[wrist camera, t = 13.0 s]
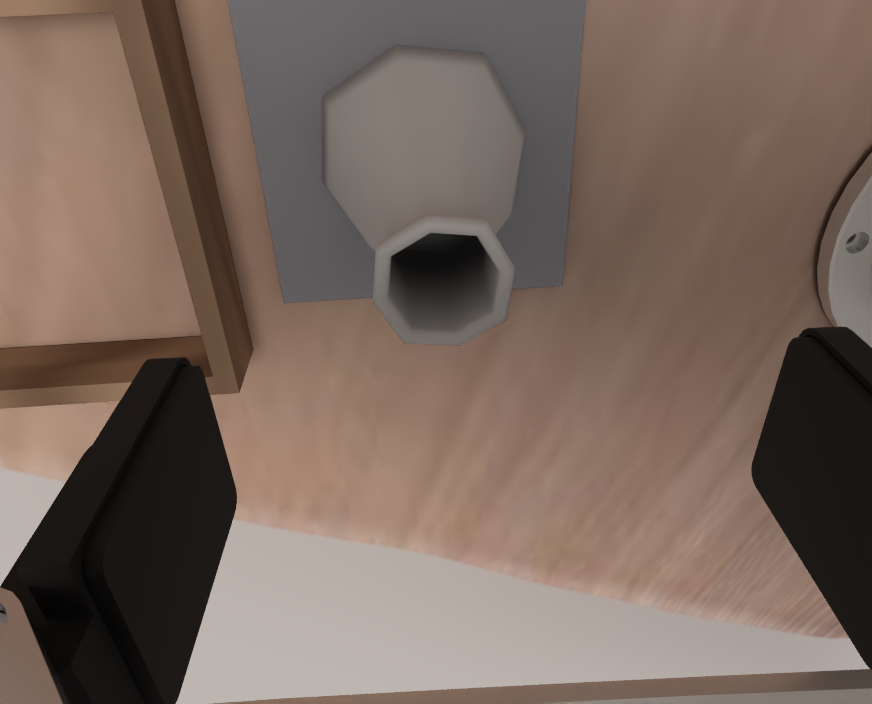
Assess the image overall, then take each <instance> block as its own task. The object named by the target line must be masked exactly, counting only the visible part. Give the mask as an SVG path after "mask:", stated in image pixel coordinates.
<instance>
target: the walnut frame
mask: <svg viewBox="0 0 872 704" xmlns="http://www.w3.org/2000/svg"><path fill="white" fill-rule="evenodd" d="M95 12H114V16H115V20H116V23H117V27H118V31H119V34H120V38H121V42H122V45H123V49H124V53H125V56H126V60H127V64H128V67H129V71H130V75H131V78H132V82H133V86H134V89H135V93H136V97H137V100H138V104H139V108H140V111H141V115H142V118H143V122H144V126H145V129H146V133H147V137H148V140H149V144H150V148H151V151H152V155H153V159H154V162H155V166H156V170H157V173H158V177H159V181H160V184H161V188H162V192H163V195H164V199H165V203H166V206H167V210H168V214H169V217H170V221H171V225H172V228H173V232H174V236H175V239H176V243H177V247H178V250H179V254H180V258H181V261H182V265H183V269H184V272H185V276H186V279H187V283H188V287H189V290H190V294H191V298H192V301H193V305H194V309H195V312H196V316H197V320H198V323H199V327H200V331H201V334H202V336H197V337H181V338H165V339H149V340H133V341H117V342H101V343H85V344H69V345H53V346H37V347H21V348H5V349H0V409H1V408H16V407H32V406H47V405H62V404H77V403H92V402H108V401H120V400H121V399H122V397H123V396H124V394H125V392H126V391H127V389H128V388H129V386H130V384H131V383H132V381H133V379H134V378H135V376H136V375H137V373H138V371H139V370H140V368H141V367H142V365H143V363H144V362H145V361H146V360H147V359H154V358H176V357H185V358H187V359H188V360H189V362H190V363H191V366H200V367H201V369H202V370H203V373H204V376H205V380H206V383H207V387H208V390H209V394H210V395H214V394H229V393H239V392H240V389H241V386H242V383H243V380H244V377H245V373H246V370H247V367H248V364H249V361H250V358H251V354H252V351H253V347H252V343H251V338H250V334H249V330H248V325H247V321H246V316H245V312H244V307H243V303H242V299H241V294H240V290H239V285H238V281H237V276H236V272H235V268H234V263H233V259H232V254H231V250H230V245H229V241H228V237H227V232H226V228H225V223H224V219H223V214H222V210H221V205H220V201H219V197H218V192H217V188H216V183H215V179H214V174H213V170H212V166H211V161H210V157H209V152H208V148H207V143H206V139H205V135H204V130H203V126H202V121H201V117H200V112H199V108H198V104H197V99H196V95H195V90H194V86H193V81H192V77H191V73H190V68H189V64H188V59H187V55H186V50H185V46H184V42H183V37H182V33H181V28H180V24H179V19H178V15H177V11H176V6H175V2H174V0H0V17H8V16H30V15H52V14H74V13H95Z"/></svg>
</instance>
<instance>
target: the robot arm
mask: <svg viewBox="0 0 872 704" xmlns="http://www.w3.org/2000/svg"><path fill="white" fill-rule="evenodd" d="M817 277H818V293H819V296H820V299H821V303H822V306H823V309H824V312H825V314H826V316H827V317H828V319H829V320H830V322H831V323H832V325H833V326H834V327H823V328H808V329H805V330H803V332H802V333H801V334H800V335H799V337H798V338H794V339H792V340H791V341H790V343H789V345H788V347H787V351H786V354H785V357H784V361H783V364H782V367H781V370H780V374H779V377H778V380H777V383H776V387H775V390H774V393H773V396H772V400H771V403H770V406H769V410H768V413H767V416H766V419H765V423H764V426H763V429H762V432H761V436H760V439H759V442H758V446H757V449H756V452H755V455H754V459H753V462H752V478H753V481H754V484H755V486H756V488H757V490H758V491H759V493H760V494H761V496H762V498H763V499H764V501H765V502H766V504H767V506H768V507H769V509H770V511H771V512H772V514H773V515H774V517H775V519H776V520H777V522H778V523H779V525H780V527H781V528H782V530H783V531H784V533H785V535H786V536H787V538H788V540H789V541H790V543H791V544H792V546H793V548H794V549H795V551H796V552H797V554H798V556H799V557H800V559H801V561H802V562H803V564H804V565H805V567H806V569H807V570H808V572H809V573H810V575H811V577H812V578H813V580H814V581H815V583H816V585H817V586H818V588H819V590H820V591H821V593H822V594H823V596H824V598H825V599H826V601H827V602H828V604H829V606H830V607H831V609H832V610H833V612H834V614H835V615H836V617H837V619H838V620H839V622H840V623H841V625H842V627H843V628H844V630H845V631H846V633H847V635H848V636H849V638H850V639H851V641H852V643H853V644H854V646H855V648H856V649H857V651H858V652H859V654H860V656H861V657H862V659H863V660H864V662H865V663H866V665H867V666H868V667H869V668H870V669H865V670H842V671H821V672H820V671H819V672H798V673H797V672H796V673H775V674H752V675H729V676H706V677H688V678H687V677H686V678H666V679H647V680H646V679H645V680H625V681H604V682H584V683H567V684H566V683H565V684H546V685H526V686H506V687H486V688H468V689H450V690H449V689H448V690H431V691H414V692H413V691H412V692H395V693H377V694H359V695H340V696H322V697H305V698H286V699H270V700H257V701H244V702H229V703H215V704H872V152H871V154H870V155H869V156H868V157H867V159H866V160H865V161H864V163H863V164H862V165H861V167H860V168H859V169H858V171H857V172H856V173H855V175H854V176H853V177H852V179H851V180H850V181H849V183H848V184H847V186H846V188H845V190H844V192H843V194H842V195H841V197H840V199H839V201H838V203H837V204H836V206H835V208H834V210H833V212H832V214H831V217H830V219H829V222H828V225H827V228H826V230H825V233H824V236H823V239H822V241H821V247H820V253H819V260H818V266H817ZM236 504H237V493H236V487H235V483H234V480H233V476H232V473H231V469H230V466H229V462H228V458H227V455H226V451H225V448H224V444H223V440H222V437H221V433H220V430H219V426H218V423H217V419H216V415H215V412H214V408H213V405H212V401H211V397H210V394H209V390H208V387H207V383H206V380H205V376H204V373H203V370H202V369H201V367H200V366H191V363H190V362H189V360H188V359H187V358H185V357H176V358H154V359H147V360H146V361H145V362H144V363H143V365H142V367H141V368H140V370H139V371H138V373H137V375H136V376H135V378H134V379H133V381H132V383H131V384H130V386H129V388H128V389H127V391H126V392H125V394H124V396H123V397H122V399H121V400H120V402H119V404H118V405H117V407H116V408H115V410H114V412H113V413H112V415H111V416H110V418H109V420H108V421H107V423H106V424H105V426H104V428H103V429H102V431H101V432H100V434H99V436H98V437H97V439H96V440H95V442H94V444H93V445H92V446H90V447H89V449H88V450H87V451H86V452H85V453H84V455H83V456H82V458H81V459H80V461H79V463H78V464H77V466H76V467H75V469H74V470H73V472H72V474H71V475H70V477H69V478H68V480H67V482H66V483H65V485H64V486H63V488H62V489H61V491H60V493H59V494H58V496H57V497H56V499H55V501H54V502H53V504H52V505H51V507H50V509H49V510H48V512H47V513H46V515H45V516H44V518H43V520H42V521H41V523H40V525H39V526H38V528H37V529H36V531H35V532H34V534H33V535H32V537H31V539H30V540H29V542H28V543H27V545H26V547H25V548H24V550H23V552H22V553H21V555H20V556H19V558H18V559H17V561H16V562H15V564H14V566H13V567H12V569H11V571H10V572H9V574H8V575H7V577H6V578H5V580H4V581H3V583H2V585H1V586H0V704H175V703H176V701H177V699H178V697H179V694H180V690H181V687H182V683H183V681H184V677H185V674H186V670H187V667H188V664H189V661H190V658H191V654H192V651H193V648H194V644H195V641H196V638H197V635H198V632H199V628H200V625H201V622H202V618H203V615H204V612H205V609H206V605H207V602H208V599H209V595H210V592H211V589H212V586H213V582H214V579H215V576H216V573H217V569H218V566H219V563H220V560H221V556H222V553H223V549H224V547H225V543H226V540H227V537H228V534H229V530H230V527H231V524H232V520H233V517H234V514H235V510H236Z"/></svg>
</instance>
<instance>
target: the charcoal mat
mask: <svg viewBox="0 0 872 704" xmlns="http://www.w3.org/2000/svg"><path fill="white" fill-rule="evenodd" d="M228 5H229V10H230V16H231V21H232V27H233V32H234V37H235V43H236V48H237V54H238V59H239V64H240V70H241V75H242V80H243V86H244V91H245V97H246V102H247V107H248V113H249V118H250V123H251V129H252V134H253V140H254V145H255V150H256V156H257V161H258V166H259V172H260V177H261V183H262V188H263V193H264V199H265V204H266V209H267V215H268V220H269V226H270V231H271V236H272V242H273V247H274V252H275V258H276V263H277V269H278V274H279V279H280V285H281V290H282V295H283V301H284V303H293V302H310V301H326V300H342V299H359V298H373V291H374V272H375V252H376V251H374V250H373V249H371V248H370V247H369V246H368V244H367V243H366V242H365V240H364V239H363V238H362V236H361V235H360V233H359V232H358V231H357V229H356V228H355V227H354V225H353V224H352V223H351V221H350V220H349V218H348V217H347V216H346V214H345V213H344V212H343V210H342V209H341V208H340V206H339V205H338V203H337V202H336V201H335V199H334V198H333V197H332V195H331V194H330V193H329V191H328V190H327V188H326V187H325V186H324V184H323V183H322V96H323V95H325V94H326V93H327V92H329V91H330V90H332V89H333V88H335V87H336V86H338V85H339V84H340V83H342V82H343V81H345V80H346V79H348V78H349V77H351V76H352V75H353V74H355V73H356V72H358V71H359V70H361V69H362V68H364V67H365V66H367V65H368V64H369V63H371V62H372V61H374V60H375V59H377V58H378V57H380V56H381V55H382V54H384V53H385V52H387V51H388V50H390V49H391V48H393V47H394V46H396V45H399V46H410V47H420V48H431V49H441V50H451V51H462V52H472V53H483V54H486V55H487V57H488V59H489V61H490V63H491V65H492V67H493V69H494V71H495V72H496V74H497V76H498V78H499V80H500V82H501V84H502V86H503V88H504V90H505V92H506V94H507V96H508V97H509V99H510V101H511V103H512V105H513V107H514V109H515V111H516V113H517V115H518V117H519V119H520V121H521V122H522V124H523V126H524V128H525V130H526V136H525V142H524V148H523V154H522V159H521V165H520V171H519V177H518V183H517V189H516V195H515V201H514V207H513V212H512V214H511V215H510V217H509V218H508V219H507V221H506V222H505V223H504V224H503V225H502V227H501V228H500V229H499V230H498V232H497V234H496V237H497V238H498V240H499V242H500V243H501V245H502V247H503V248H504V250H505V252H506V253H507V255H508V257H509V258H510V260H511V262H512V263H513V265H514V268H515V272H514V278H513V283H512V289H522V288H538V287H555V286H563V275H564V263H565V250H566V238H567V225H568V213H569V200H570V188H571V175H572V163H573V150H574V138H575V125H576V113H577V100H578V88H579V75H580V63H581V50H582V38H583V25H584V13H585V0H228Z"/></svg>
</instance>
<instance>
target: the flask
mask: <svg viewBox="0 0 872 704" xmlns="http://www.w3.org/2000/svg"><path fill="white" fill-rule="evenodd" d="M525 136H526V130H525V128H524V126H523V124H522V122H521V121H520V119H519V117H518V115H517V113H516V111H515V109H514V107H513V105H512V103H511V101H510V99H509V97H508V96H507V94H506V92H505V90H504V88H503V86H502V84H501V82H500V80H499V78H498V76H497V74H496V72H495V71H494V69H493V67H492V65H491V63H490V61H489V59H488V57H487V55H486V54H483V53H472V52H462V51H451V50H441V49H431V48H420V47H410V46H399V45H396V46H394V47H393V48H391V49H390V50H388V51H387V52H385V53H384V54H382V55H381V56H380V57H378V58H377V59H375V60H374V61H372V62H371V63H369V64H368V65H367V66H365V67H364V68H362V69H361V70H359V71H358V72H356V73H355V74H353V75H352V76H351V77H349V78H348V79H346V80H345V81H343V82H342V83H340V84H339V85H338V86H336V87H335V88H333V89H332V90H330V91H329V92H327V93H326V94H325V95H323V96H322V183H323V184H324V186H325V187H326V188H327V190H328V191H329V193H330V194H331V195H332V197H333V198H334V199H335V201H336V202H337V203H338V205H339V206H340V208H341V209H342V210H343V212H344V213H345V214H346V216H347V217H348V218H349V220H350V221H351V223H352V224H353V225H354V227H355V228H356V229H357V231H358V232H359V233H360V235H361V236H362V238H363V239H364V240H365V242H366V243H367V244H368V246H369V247H370V248H371V249H373V250H374V251H376V252H375V272H374V291H373V303H374V304H375V306H376V307H377V308H378V310H379V311H380V312H381V313H382V315H383V316H384V317H385V319H386V320H387V321H388V323H389V324H390V325H391V326H392V328H393V329H394V330H395V332H396V333H397V334H398V336H399V337H400V338H401V339H402V341H403V342H404V343H410V344H431V345H452V346H459V345H461V344H463V343H465V342H466V341H468V340H470V339H472V338H474V337H476V336H477V335H479V334H481V333H483V332H485V331H487V330H488V329H490V328H492V327H494V326H496V325H498V324H500V323H501V322H503V321H505V320H506V317H507V311H508V306H509V300H510V295H511V289H512V283H513V278H514V272H515V268H514V265H513V263H512V262H511V260H510V258H509V257H508V255H507V253H506V252H505V250H504V248H503V247H502V245H501V243H500V242H499V240H498V238H497V237H496V234H497V232H498V230H499V229H500V228H501V227H502V225H503V224H504V223H505V222H506V221H507V219H508V218H509V217H510V215H511V214H512V212H513V207H514V201H515V195H516V189H517V183H518V177H519V171H520V165H521V159H522V154H523V148H524V142H525Z"/></svg>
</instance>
